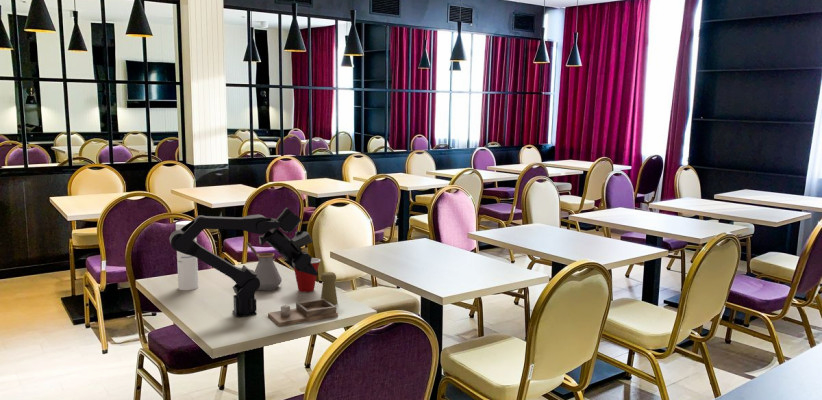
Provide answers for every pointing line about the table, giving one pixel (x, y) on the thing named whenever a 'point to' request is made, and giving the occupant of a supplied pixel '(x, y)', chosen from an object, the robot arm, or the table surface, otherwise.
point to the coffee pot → (266, 270)
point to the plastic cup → (307, 278)
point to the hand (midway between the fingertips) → (313, 271)
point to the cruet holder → (304, 312)
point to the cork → (329, 287)
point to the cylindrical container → (186, 266)
